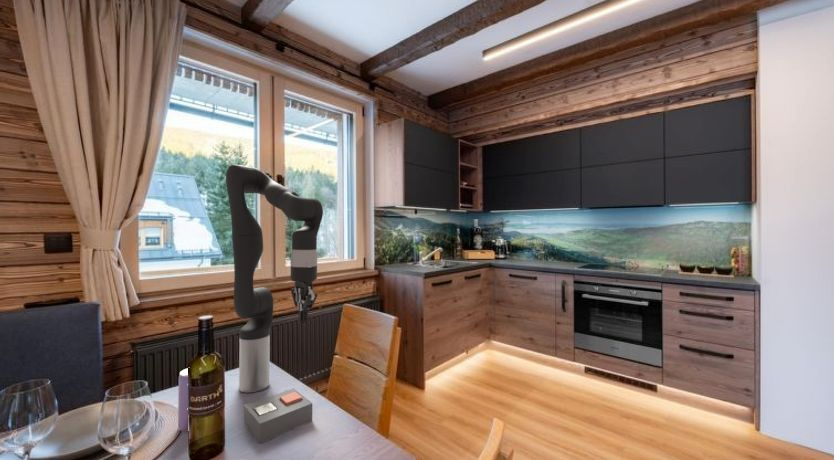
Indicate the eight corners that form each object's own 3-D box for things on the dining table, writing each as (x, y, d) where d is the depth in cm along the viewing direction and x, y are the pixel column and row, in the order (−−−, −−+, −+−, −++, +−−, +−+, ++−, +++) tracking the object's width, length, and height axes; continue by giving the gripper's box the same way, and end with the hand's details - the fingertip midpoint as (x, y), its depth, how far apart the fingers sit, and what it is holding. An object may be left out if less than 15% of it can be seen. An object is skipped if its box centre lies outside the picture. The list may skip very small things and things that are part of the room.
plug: (253, 425, 88) (253, 408, 88) (270, 418, 91) (270, 402, 91) (259, 432, 85) (259, 415, 85) (276, 425, 88) (276, 408, 88)
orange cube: (279, 412, 93) (280, 396, 93) (294, 406, 96) (295, 391, 96) (286, 419, 90) (286, 402, 90) (301, 412, 93) (301, 397, 93)
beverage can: (191, 434, 85) (191, 376, 85) (172, 431, 87) (172, 374, 87) (210, 421, 91) (210, 367, 91) (192, 418, 92) (192, 365, 92)
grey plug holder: (243, 423, 90) (244, 405, 90) (293, 404, 100) (293, 388, 100) (259, 443, 82) (259, 423, 82) (312, 421, 91) (312, 403, 91)
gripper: (282, 263, 100) (281, 319, 100) (301, 267, 91) (300, 330, 91) (306, 261, 105) (305, 315, 105) (326, 265, 96) (325, 324, 96)
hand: (303, 322), depth 98 cm, fingers closed
